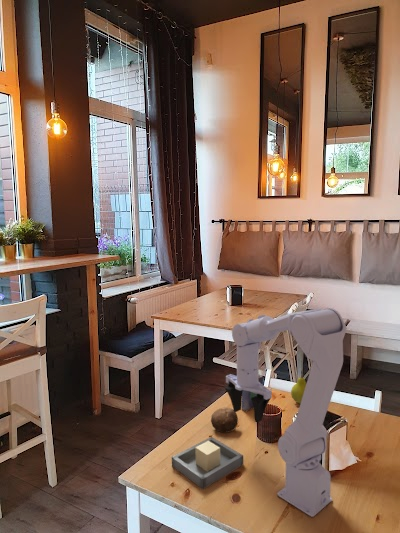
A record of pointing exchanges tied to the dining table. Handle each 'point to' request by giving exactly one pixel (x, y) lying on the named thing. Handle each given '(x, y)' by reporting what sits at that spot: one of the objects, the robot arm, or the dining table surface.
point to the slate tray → (198, 475)
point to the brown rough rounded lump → (224, 419)
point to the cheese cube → (207, 455)
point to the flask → (249, 397)
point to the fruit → (298, 389)
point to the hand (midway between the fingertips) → (247, 415)
